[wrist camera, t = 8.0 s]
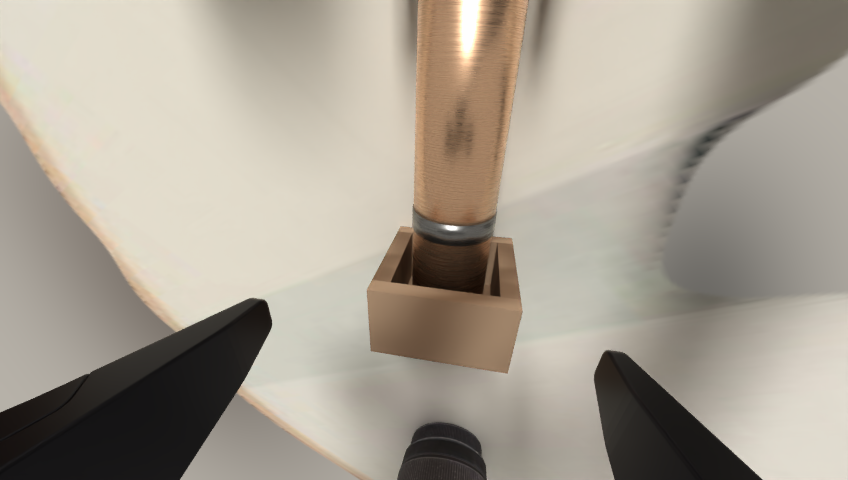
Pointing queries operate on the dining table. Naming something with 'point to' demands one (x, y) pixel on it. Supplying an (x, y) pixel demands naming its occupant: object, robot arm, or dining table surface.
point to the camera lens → (443, 455)
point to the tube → (461, 134)
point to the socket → (445, 311)
